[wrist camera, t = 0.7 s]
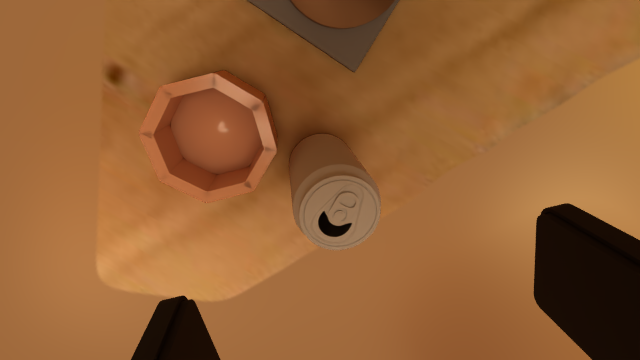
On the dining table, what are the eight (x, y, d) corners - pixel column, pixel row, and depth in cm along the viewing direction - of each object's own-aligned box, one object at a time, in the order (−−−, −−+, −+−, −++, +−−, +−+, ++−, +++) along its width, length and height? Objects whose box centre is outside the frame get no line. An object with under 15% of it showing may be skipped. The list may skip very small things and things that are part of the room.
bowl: (193, 51, 29) (176, 50, 25) (292, 111, 32) (295, 120, 27) (146, 148, 32) (123, 164, 27) (243, 195, 34) (237, 218, 30)
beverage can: (278, 176, 34) (277, 236, 23) (306, 120, 32) (321, 154, 21) (332, 201, 36) (357, 268, 24) (362, 148, 34) (403, 194, 23)
